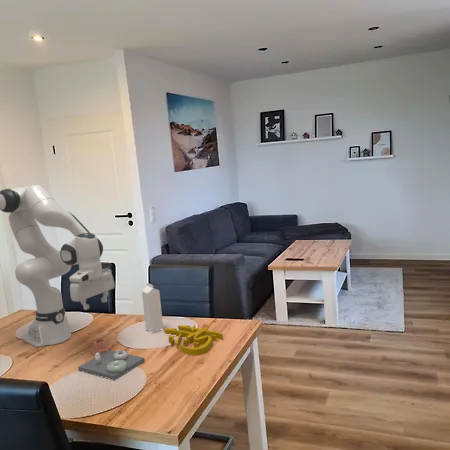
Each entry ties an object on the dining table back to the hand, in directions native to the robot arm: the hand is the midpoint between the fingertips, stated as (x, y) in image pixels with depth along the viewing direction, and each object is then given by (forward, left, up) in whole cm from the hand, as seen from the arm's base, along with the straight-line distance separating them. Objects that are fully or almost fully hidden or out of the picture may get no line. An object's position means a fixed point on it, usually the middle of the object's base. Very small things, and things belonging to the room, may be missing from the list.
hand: (95, 305), depth 177 cm
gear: (0, 0, -20) cm, 20 cm away
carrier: (+15, -8, -20) cm, 26 cm away
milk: (+6, +27, -20) cm, 34 cm away
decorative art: (+28, +23, -21) cm, 41 cm away
